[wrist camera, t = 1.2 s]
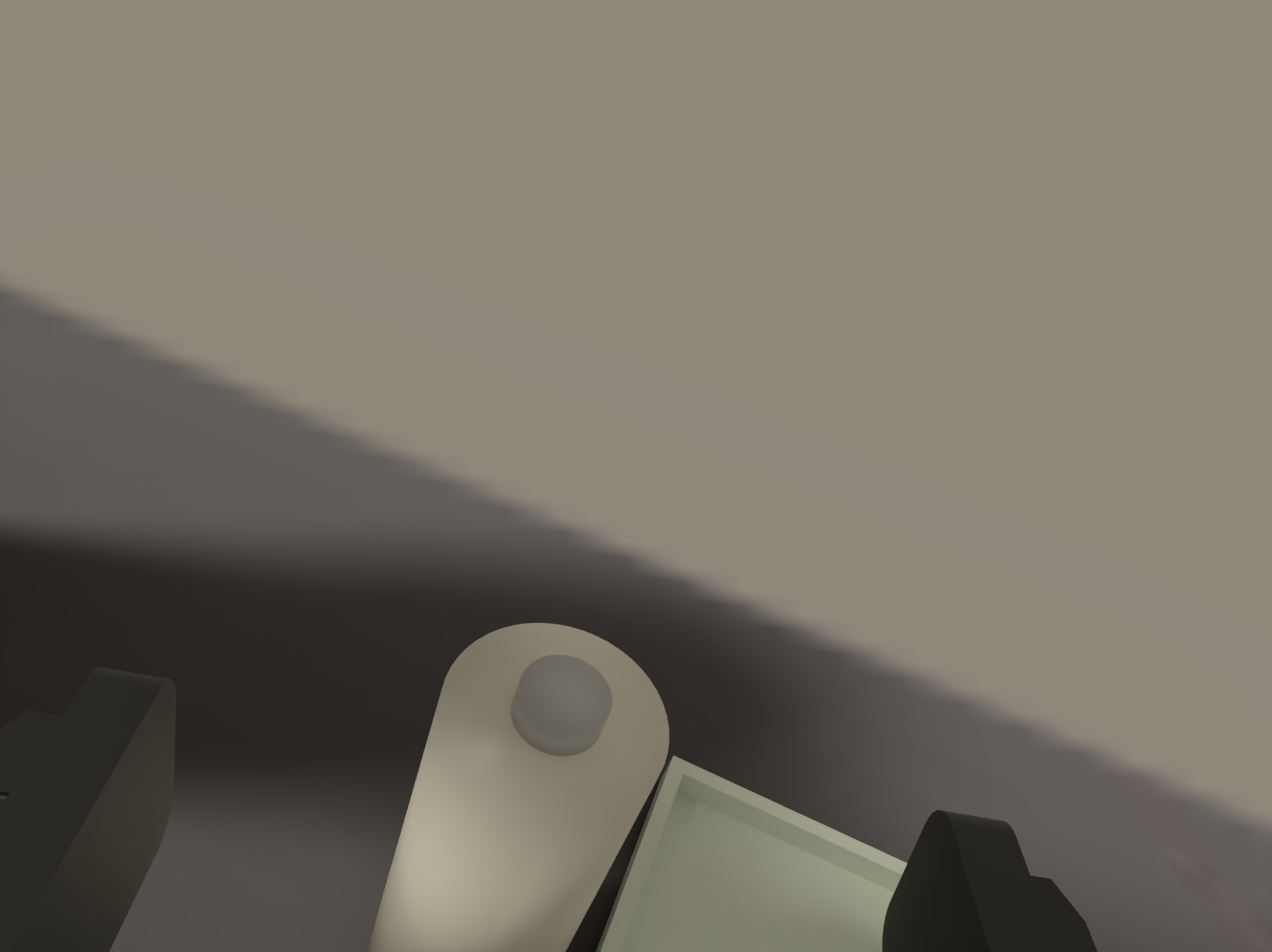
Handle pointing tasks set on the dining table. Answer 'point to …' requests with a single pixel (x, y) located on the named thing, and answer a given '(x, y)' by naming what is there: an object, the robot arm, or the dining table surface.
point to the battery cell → (522, 793)
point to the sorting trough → (745, 877)
